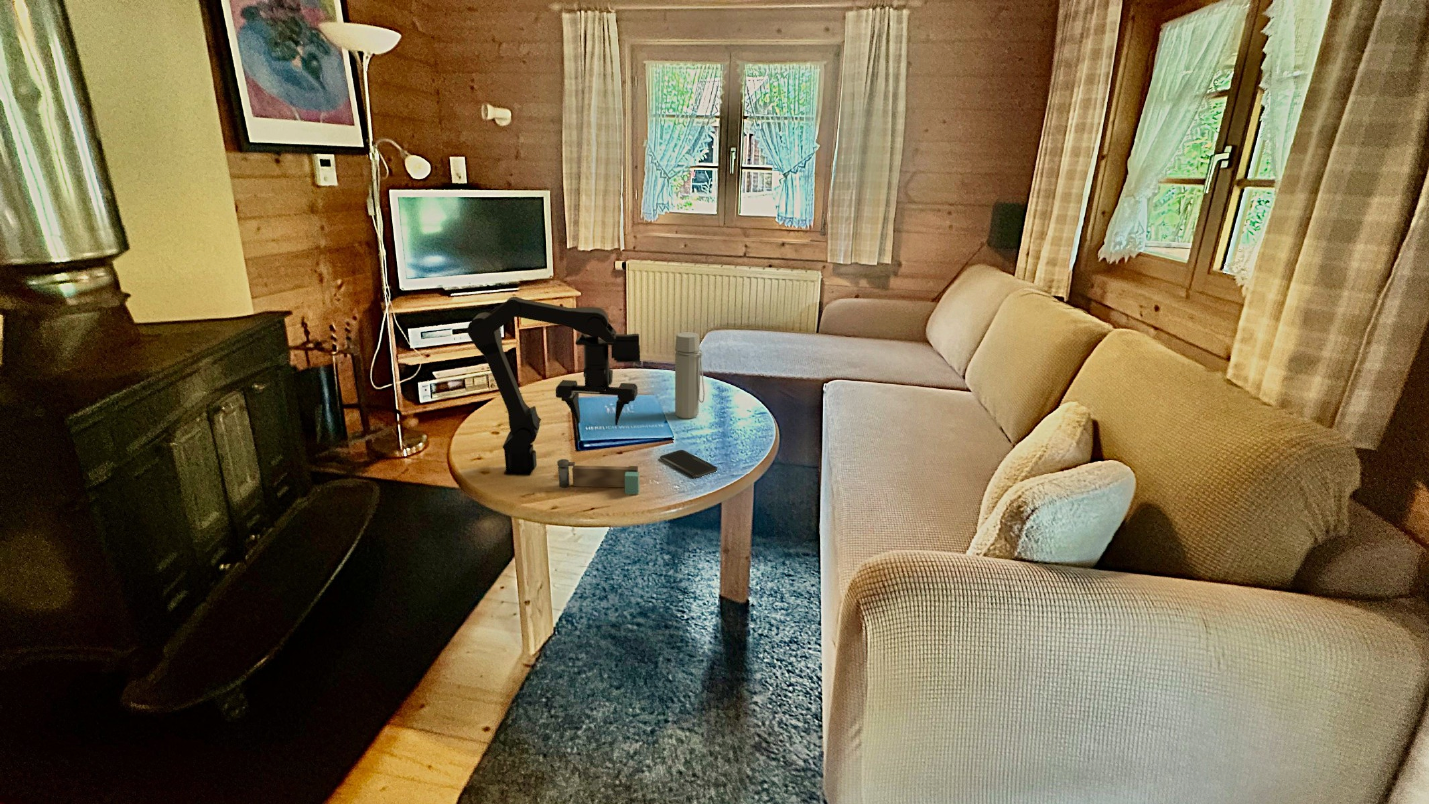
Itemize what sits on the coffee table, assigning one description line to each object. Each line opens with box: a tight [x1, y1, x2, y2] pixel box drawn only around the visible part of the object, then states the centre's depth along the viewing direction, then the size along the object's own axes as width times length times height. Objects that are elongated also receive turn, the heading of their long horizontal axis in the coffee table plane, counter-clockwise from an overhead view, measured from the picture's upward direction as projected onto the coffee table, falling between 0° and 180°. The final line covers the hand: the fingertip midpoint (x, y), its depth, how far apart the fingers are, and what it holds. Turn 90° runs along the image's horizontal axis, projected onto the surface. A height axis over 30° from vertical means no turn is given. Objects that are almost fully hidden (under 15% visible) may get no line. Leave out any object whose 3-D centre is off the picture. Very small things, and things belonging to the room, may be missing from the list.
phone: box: [659, 449, 718, 480], centre depth 171 cm, size 8×1×15 cm
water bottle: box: [674, 331, 706, 420], centre depth 200 cm, size 9×8×25 cm
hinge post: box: [557, 466, 571, 489], centre depth 158 cm, size 2×2×5 cm
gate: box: [557, 458, 639, 488], centre depth 158 cm, size 18×3×6 cm, turn 90°
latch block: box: [624, 471, 640, 495], centre depth 156 cm, size 3×2×5 cm
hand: (597, 423), depth 165 cm, fingers open, 9 cm apart
